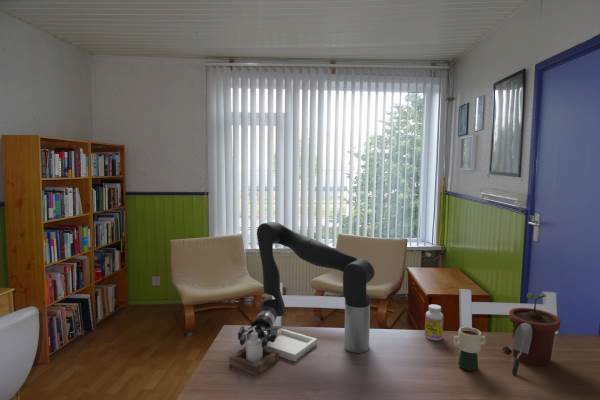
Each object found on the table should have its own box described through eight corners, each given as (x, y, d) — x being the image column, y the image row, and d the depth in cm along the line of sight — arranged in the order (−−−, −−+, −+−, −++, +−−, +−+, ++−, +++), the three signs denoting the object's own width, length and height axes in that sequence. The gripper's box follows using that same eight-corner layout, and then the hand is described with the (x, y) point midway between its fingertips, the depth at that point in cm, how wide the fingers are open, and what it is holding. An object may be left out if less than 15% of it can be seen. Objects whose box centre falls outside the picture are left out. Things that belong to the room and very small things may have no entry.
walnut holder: (251, 351, 147) (251, 343, 147) (278, 360, 141) (278, 352, 140) (229, 365, 137) (229, 356, 137) (256, 375, 131) (256, 366, 130)
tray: (280, 334, 162) (280, 328, 161) (316, 344, 152) (316, 338, 152) (257, 348, 149) (257, 342, 149) (295, 361, 140) (295, 354, 140)
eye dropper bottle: (261, 366, 137) (261, 332, 135) (245, 365, 137) (244, 331, 136) (263, 359, 141) (263, 327, 140) (248, 359, 142) (247, 326, 140)
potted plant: (572, 371, 135) (578, 299, 132) (513, 375, 132) (518, 302, 129) (535, 346, 152) (539, 283, 150) (482, 350, 149) (486, 285, 147)
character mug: (479, 362, 140) (481, 326, 139) (488, 373, 133) (491, 335, 132) (448, 362, 140) (449, 326, 139) (456, 373, 133) (458, 335, 132)
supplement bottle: (421, 337, 160) (422, 306, 158) (430, 332, 164) (431, 302, 163) (437, 342, 155) (438, 310, 154) (445, 337, 159) (446, 306, 158)
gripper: (245, 313, 153) (231, 331, 136) (282, 315, 151) (273, 334, 135) (245, 331, 154) (232, 352, 137) (281, 334, 152) (273, 355, 135)
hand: (252, 343), depth 136 cm, fingers open, 7 cm apart
